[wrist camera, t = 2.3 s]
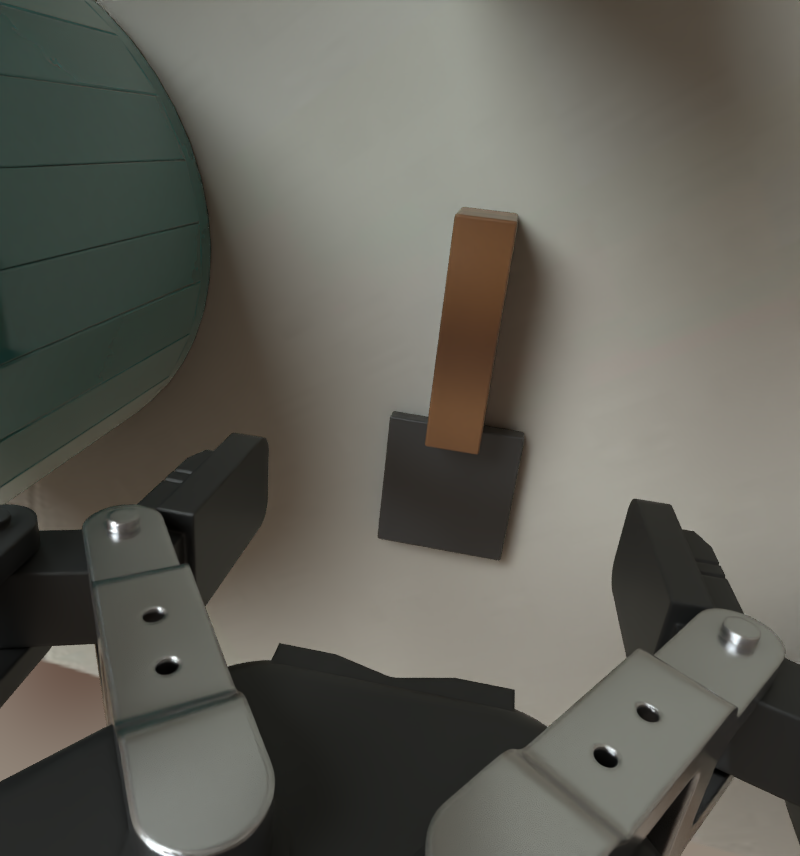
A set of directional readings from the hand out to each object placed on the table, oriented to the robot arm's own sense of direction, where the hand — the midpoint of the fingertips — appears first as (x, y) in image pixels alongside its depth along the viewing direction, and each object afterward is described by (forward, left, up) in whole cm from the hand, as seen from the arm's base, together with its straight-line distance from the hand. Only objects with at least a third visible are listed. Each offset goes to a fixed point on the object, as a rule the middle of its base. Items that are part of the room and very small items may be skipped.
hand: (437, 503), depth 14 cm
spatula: (0, 0, -9) cm, 9 cm away
